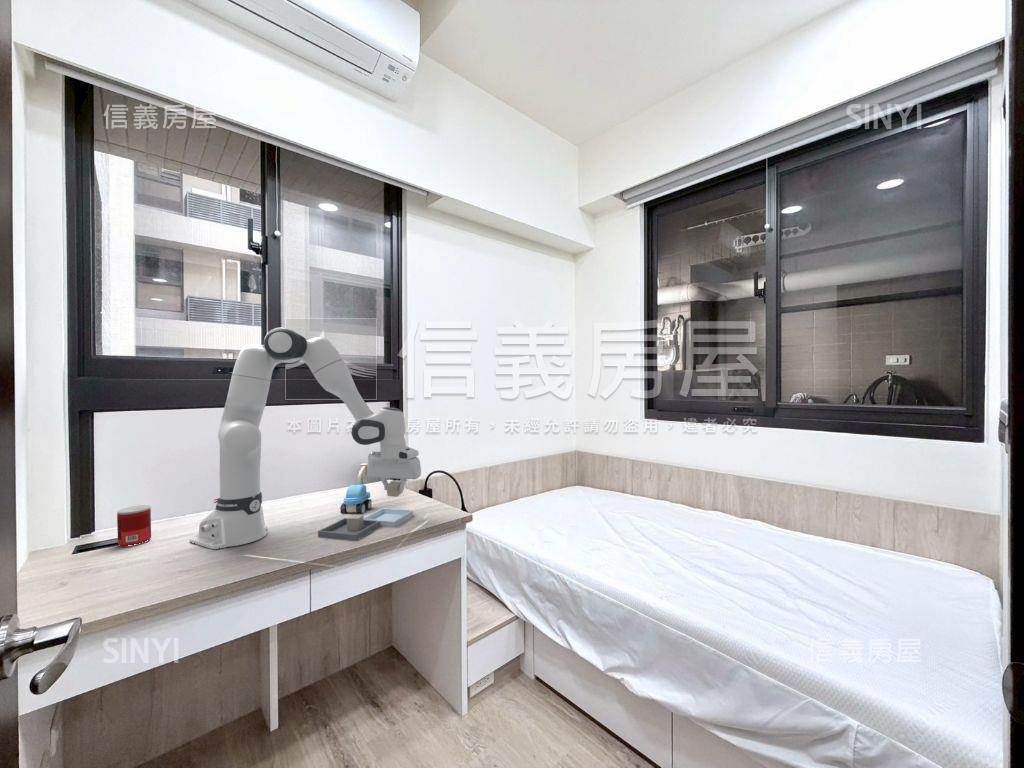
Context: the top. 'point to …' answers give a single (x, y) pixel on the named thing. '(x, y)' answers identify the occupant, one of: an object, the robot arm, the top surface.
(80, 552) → the top surface
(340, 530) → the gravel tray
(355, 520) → the tan cube
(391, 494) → the grey cube
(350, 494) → the toy excavator
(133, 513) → the canned food
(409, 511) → the blue tray
